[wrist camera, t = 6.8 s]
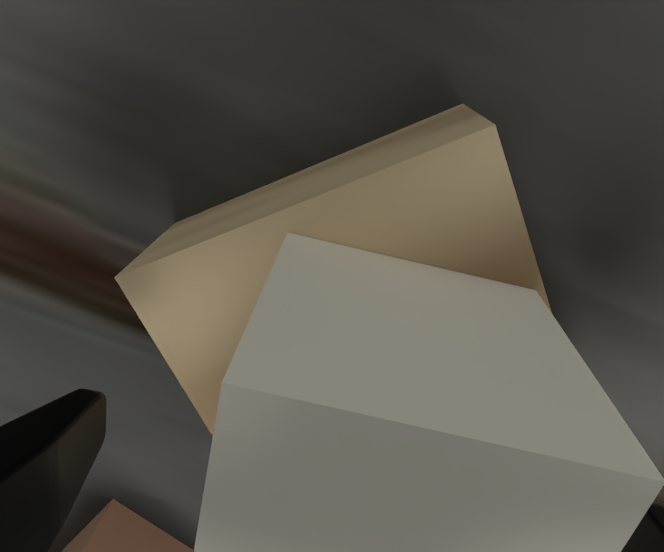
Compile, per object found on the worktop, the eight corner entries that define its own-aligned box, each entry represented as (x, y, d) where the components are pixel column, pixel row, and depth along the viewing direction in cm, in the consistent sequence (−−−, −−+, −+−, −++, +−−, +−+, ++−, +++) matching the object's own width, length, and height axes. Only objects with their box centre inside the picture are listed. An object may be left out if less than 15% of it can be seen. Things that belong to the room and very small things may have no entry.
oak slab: (544, 364, 16) (596, 462, 12) (298, 437, 17) (278, 542, 14) (460, 102, 13) (494, 124, 9) (178, 219, 15) (114, 277, 11)
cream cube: (536, 290, 10) (665, 481, 6) (456, 477, 12) (506, 729, 8) (287, 232, 10) (222, 382, 6) (247, 431, 12) (175, 660, 8)
